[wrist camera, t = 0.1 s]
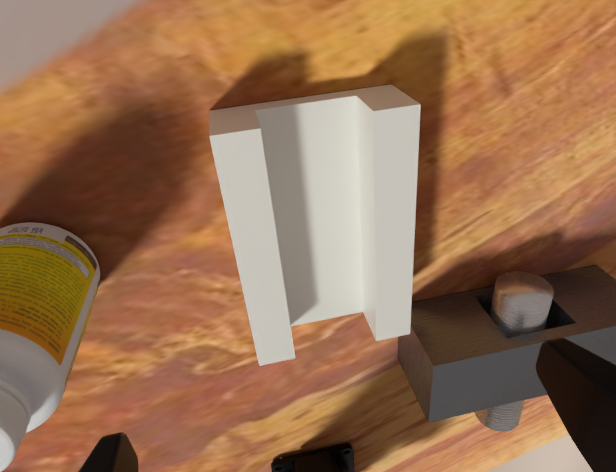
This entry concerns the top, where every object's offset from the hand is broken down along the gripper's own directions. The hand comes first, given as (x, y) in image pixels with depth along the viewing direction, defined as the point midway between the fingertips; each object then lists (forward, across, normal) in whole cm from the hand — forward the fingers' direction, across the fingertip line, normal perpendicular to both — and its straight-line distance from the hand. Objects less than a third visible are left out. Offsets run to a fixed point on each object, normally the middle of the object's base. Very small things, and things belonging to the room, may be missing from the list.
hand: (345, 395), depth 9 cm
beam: (+15, -14, +14) cm, 25 cm away
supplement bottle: (+15, +12, +4) cm, 20 cm away
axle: (+12, -14, +16) cm, 25 cm away
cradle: (+15, -2, +4) cm, 15 cm away
